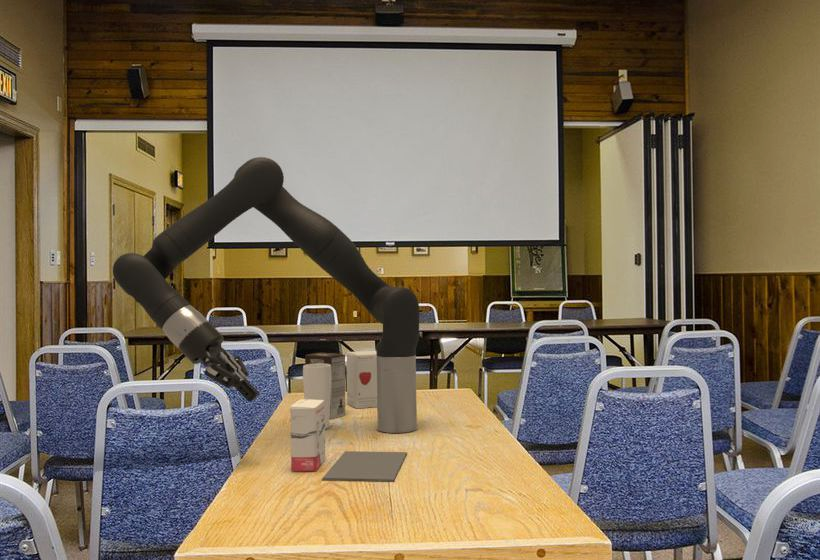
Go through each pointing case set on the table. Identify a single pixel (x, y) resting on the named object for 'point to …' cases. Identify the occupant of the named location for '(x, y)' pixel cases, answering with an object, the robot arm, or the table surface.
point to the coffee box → (333, 379)
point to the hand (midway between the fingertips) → (254, 397)
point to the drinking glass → (318, 385)
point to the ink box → (307, 434)
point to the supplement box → (362, 379)
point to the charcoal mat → (366, 466)
